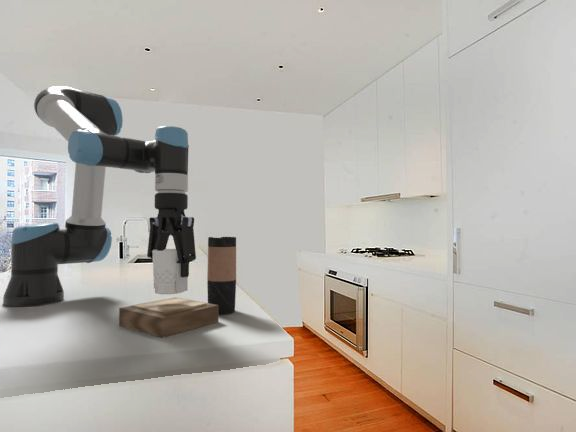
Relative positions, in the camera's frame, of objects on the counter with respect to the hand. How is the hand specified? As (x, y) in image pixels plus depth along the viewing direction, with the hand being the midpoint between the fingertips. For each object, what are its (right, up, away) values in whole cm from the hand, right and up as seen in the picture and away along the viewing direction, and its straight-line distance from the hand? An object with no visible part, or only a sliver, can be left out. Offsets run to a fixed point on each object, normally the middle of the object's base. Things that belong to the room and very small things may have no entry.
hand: (170, 289), depth 91 cm
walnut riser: (0, -8, 0) cm, 8 cm away
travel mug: (+10, -9, +12) cm, 18 cm away
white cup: (0, -1, 0) cm, 1 cm away
